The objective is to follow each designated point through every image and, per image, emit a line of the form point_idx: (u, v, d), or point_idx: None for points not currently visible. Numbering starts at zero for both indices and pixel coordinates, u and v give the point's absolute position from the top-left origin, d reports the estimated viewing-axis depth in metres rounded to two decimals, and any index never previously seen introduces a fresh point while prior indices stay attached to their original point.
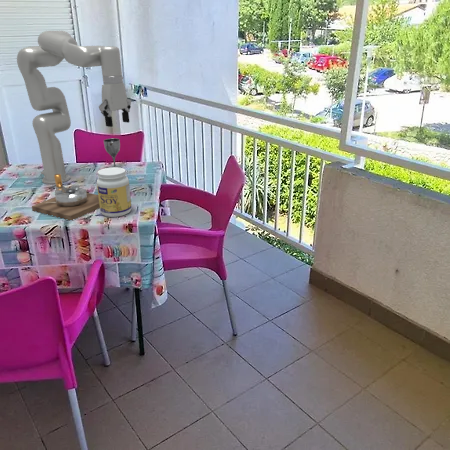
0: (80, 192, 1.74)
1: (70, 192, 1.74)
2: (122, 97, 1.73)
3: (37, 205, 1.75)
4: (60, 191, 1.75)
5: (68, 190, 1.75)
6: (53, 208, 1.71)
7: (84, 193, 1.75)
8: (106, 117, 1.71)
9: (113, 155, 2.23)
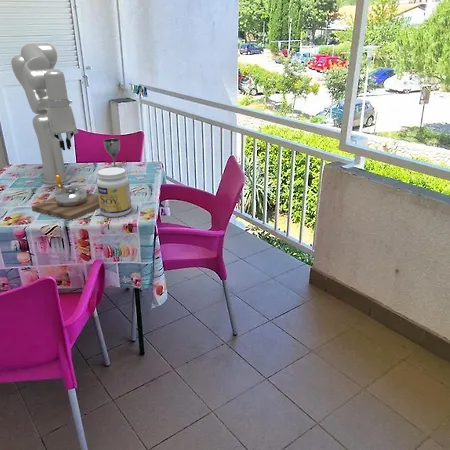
0: (80, 192, 1.74)
1: (70, 192, 1.74)
2: (67, 121, 1.74)
3: (37, 205, 1.75)
4: (60, 191, 1.75)
5: (68, 190, 1.75)
6: (53, 208, 1.71)
7: (84, 193, 1.75)
8: (59, 141, 1.78)
9: (113, 155, 2.23)
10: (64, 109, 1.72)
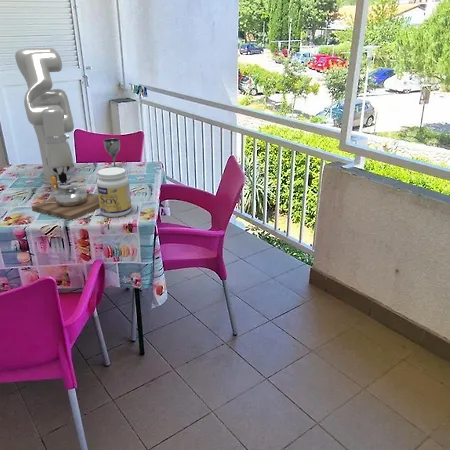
0: (81, 191, 1.75)
1: (71, 192, 1.74)
2: (64, 155, 1.79)
3: (37, 205, 1.75)
4: (59, 192, 1.75)
5: (68, 190, 1.75)
6: (53, 208, 1.71)
7: (85, 192, 1.76)
8: (58, 174, 1.82)
9: (113, 155, 2.23)
10: (61, 145, 1.76)
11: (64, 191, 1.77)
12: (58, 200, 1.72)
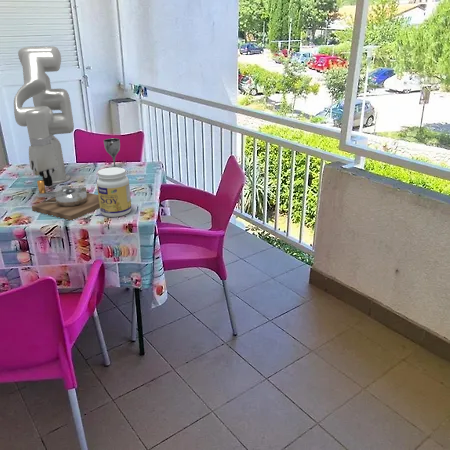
0: (82, 189, 1.77)
1: (73, 191, 1.75)
2: (50, 157, 1.75)
3: (37, 205, 1.75)
4: None
5: (69, 190, 1.75)
6: (53, 208, 1.71)
7: None
8: (43, 178, 1.77)
9: (113, 155, 2.23)
10: (48, 146, 1.73)
11: (61, 193, 1.76)
12: (65, 201, 1.71)
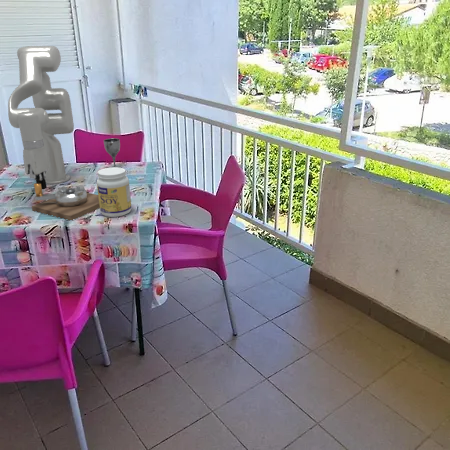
0: (81, 188, 1.79)
1: (74, 191, 1.75)
2: (44, 159, 1.73)
3: (37, 205, 1.75)
4: None
5: (70, 190, 1.75)
6: (53, 208, 1.71)
7: None
8: (38, 181, 1.74)
9: (113, 155, 2.23)
10: (42, 148, 1.71)
11: None
12: (70, 201, 1.71)
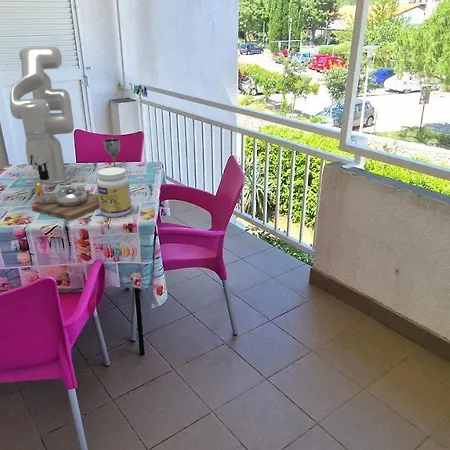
0: (82, 188, 1.78)
1: (74, 191, 1.75)
2: (47, 150, 1.75)
3: (37, 205, 1.75)
4: None
5: (70, 190, 1.75)
6: (53, 208, 1.71)
7: None
8: (40, 172, 1.76)
9: (113, 155, 2.23)
10: (44, 139, 1.72)
11: None
12: (69, 201, 1.71)
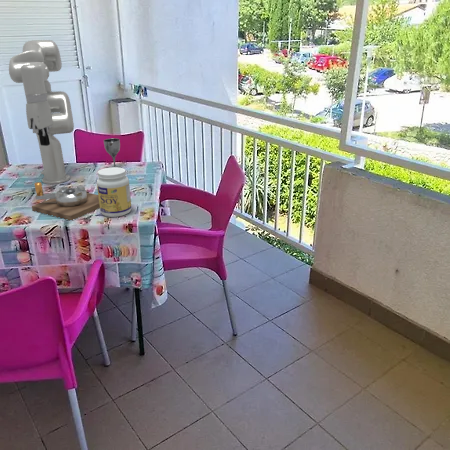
0: (82, 188, 1.78)
1: (74, 191, 1.75)
2: (47, 115, 1.71)
3: (37, 205, 1.75)
4: None
5: (70, 190, 1.75)
6: (53, 208, 1.71)
7: None
8: (41, 136, 1.73)
9: (113, 155, 2.23)
10: (45, 103, 1.69)
11: None
12: (69, 201, 1.71)
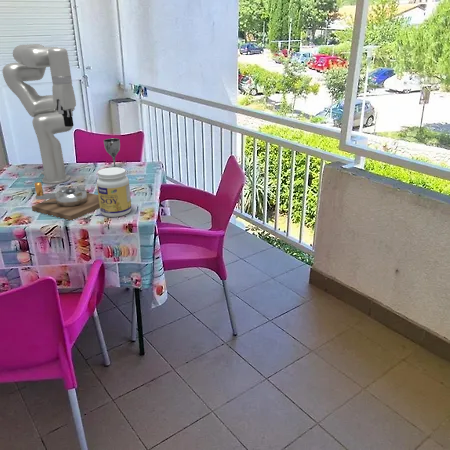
0: (82, 188, 1.78)
1: (74, 191, 1.75)
2: (72, 97, 1.80)
3: (37, 205, 1.75)
4: None
5: (70, 190, 1.75)
6: (53, 208, 1.71)
7: None
8: (66, 117, 1.81)
9: (113, 155, 2.23)
10: (70, 85, 1.78)
11: None
12: (69, 201, 1.71)
